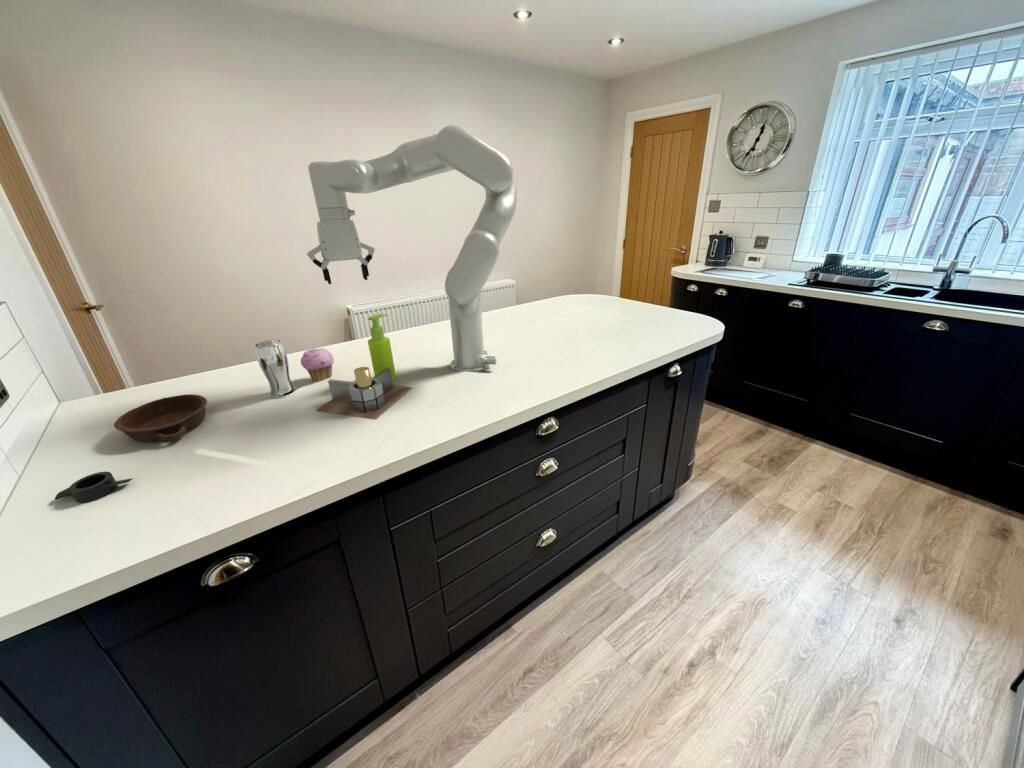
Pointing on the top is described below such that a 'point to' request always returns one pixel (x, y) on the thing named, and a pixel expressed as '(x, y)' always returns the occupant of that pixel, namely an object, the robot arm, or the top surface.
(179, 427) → the dish
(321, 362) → the cupcake
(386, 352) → the soap dispenser
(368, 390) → the hinge
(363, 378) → the hinge pin
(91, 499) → the black ring with arms
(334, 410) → the hinge base
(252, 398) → the top surface
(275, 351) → the beer glass
